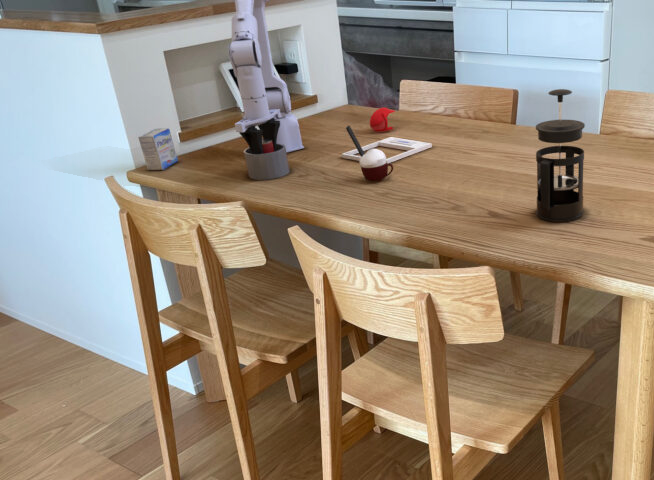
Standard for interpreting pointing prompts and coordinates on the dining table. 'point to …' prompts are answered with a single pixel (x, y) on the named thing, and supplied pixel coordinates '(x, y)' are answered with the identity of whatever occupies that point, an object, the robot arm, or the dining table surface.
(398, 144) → the photo frame
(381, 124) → the cap
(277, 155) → the bucket
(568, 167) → the french press
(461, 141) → the dining table surface
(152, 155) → the medicine box
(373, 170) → the cocoa
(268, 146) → the coffee pod
